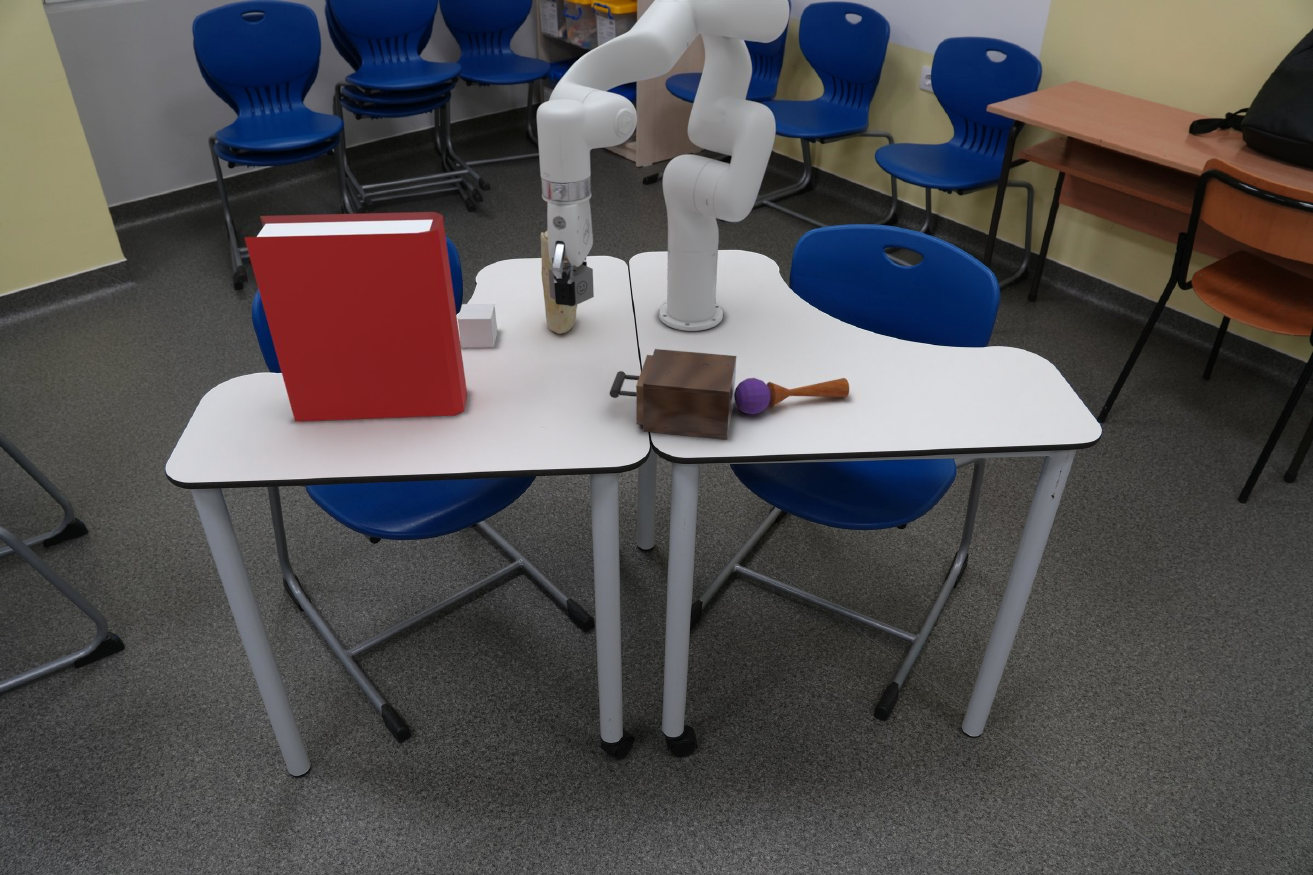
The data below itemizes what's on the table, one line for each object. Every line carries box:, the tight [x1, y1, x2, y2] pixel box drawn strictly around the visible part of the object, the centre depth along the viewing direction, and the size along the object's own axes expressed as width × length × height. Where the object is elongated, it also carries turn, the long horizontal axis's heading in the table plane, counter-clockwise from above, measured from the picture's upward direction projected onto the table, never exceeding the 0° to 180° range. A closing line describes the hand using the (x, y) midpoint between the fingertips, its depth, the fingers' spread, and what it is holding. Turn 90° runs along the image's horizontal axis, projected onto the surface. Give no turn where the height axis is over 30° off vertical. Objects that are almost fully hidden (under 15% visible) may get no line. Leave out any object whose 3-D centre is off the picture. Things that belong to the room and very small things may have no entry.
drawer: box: [608, 354, 653, 426], centre depth 148 cm, size 17×10×7 cm, turn 81°
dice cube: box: [548, 261, 595, 307], centre depth 146 cm, size 5×5×5 cm
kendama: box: [734, 377, 850, 415], centre depth 151 cm, size 6×6×20 cm
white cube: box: [457, 303, 498, 349], centre depth 169 cm, size 6×6×6 cm
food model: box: [540, 229, 578, 335], centre depth 170 cm, size 10×7×20 cm
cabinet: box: [642, 348, 737, 440], centre depth 147 cm, size 14×11×9 cm
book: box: [244, 211, 468, 422], centre depth 143 cm, size 27×8×32 cm, turn 94°
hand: (571, 293), depth 147 cm, fingers closed on dice cube, 7 cm apart
